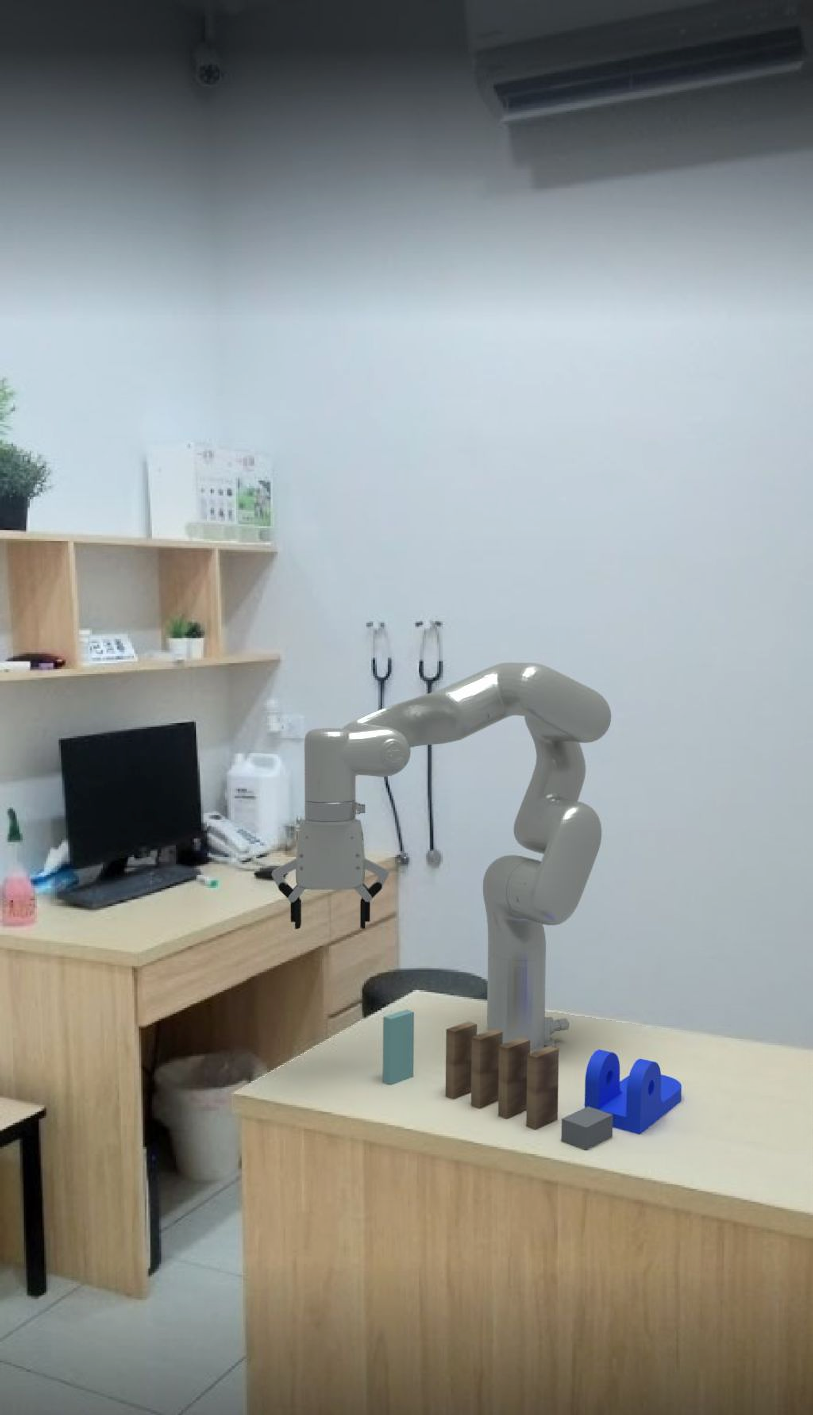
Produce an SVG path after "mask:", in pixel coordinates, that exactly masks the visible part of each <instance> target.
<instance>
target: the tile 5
mask: <svg viewBox="0 0 813 1415" xmlns="http://www.w3.org/2000/svg"><path fill="white" fill-rule="evenodd" d="M559 1054H560V1049H559V1048H558V1047H555V1046H554V1047H552V1046H548V1047H545V1048H543V1049H540V1050H538V1051H535V1052H533V1053H530V1054H527V1111H526V1117H525V1118H526V1121H525V1122H526V1124H525V1125H526V1127H527V1128H529V1129H532V1130H536V1131H537V1130H538V1129H541V1128H543V1127H545V1126H547V1125H549V1124H551V1123H553V1122H556V1121H558V1119H559V1062H560V1061H559V1059H560V1058H559V1057H560V1056H559Z"/></svg>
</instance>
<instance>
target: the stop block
mask: <svg viewBox="0 0 813 1415" xmlns="http://www.w3.org/2000/svg"><path fill="white" fill-rule="evenodd" d="M613 1132H614V1130H613V1115H612V1114H609V1113H606V1112H603V1111H600V1110H597V1109H594V1108H591V1107H589V1106H588V1107H586V1108H585V1107H584V1108H581V1109H579V1110H577V1111H575V1112H573V1113H571V1114H569V1115H566V1116H565V1117H563V1118H561V1137H560V1138H561V1140H560V1141H561V1142H564V1143H566V1144H569V1145H571V1146H574V1147H576V1148H578V1149H579V1148H580V1149H582V1150H585V1151H588V1150H589V1149H591V1148H593V1147H595V1146H597V1145H600V1144H601V1143H603V1142H606V1140H609V1139H611V1138H613Z"/></svg>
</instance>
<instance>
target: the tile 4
mask: <svg viewBox="0 0 813 1415" xmlns="http://www.w3.org/2000/svg"><path fill="white" fill-rule="evenodd" d="M527 1054H530V1040H528V1039H525V1038H522V1037H521V1038H518V1039H516V1040H513V1041H510V1042H507V1043H505V1044H502V1045H499V1084H498V1101H497V1117H499V1118H502V1119H505V1120H508V1119H511V1118H514V1117H515V1116H517V1115H521V1114H522V1113H524V1112H527Z"/></svg>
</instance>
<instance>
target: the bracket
mask: <svg viewBox="0 0 813 1415" xmlns="http://www.w3.org/2000/svg"><path fill="white" fill-rule="evenodd" d="M620 1064H621V1062H620V1060H619V1056H618V1055H617V1054H616V1052H612V1051H607V1050H604V1049H597V1050H595V1051H594V1052H593V1053H592V1054H591V1057H590V1058H589V1060H588V1063H587V1067H586V1071H585V1076H584V1077H585V1078H584V1108H586V1107H588V1106H589V1107H591V1108H594V1109H597V1110H600V1111H603V1112H606V1113H609V1114H612V1115H613V1128H614V1129H617V1130H621V1131H626V1132H628V1133H629V1132H630V1133H633V1134H637V1135H642V1134H643V1133H644V1132H645V1131H647V1129H649V1128H650V1127H651V1126H653V1125H654V1124H655V1123H656V1122H658V1121H659V1120H660V1119H661V1118H662V1117H664V1116H665V1115H666V1114H667V1113H668V1112H670V1111H671V1110H672V1109H673V1108H675V1107H676V1106H677V1105H678V1104H679V1103H680V1102H681V1101H682V1086H683V1085H682V1083H681V1082H680V1080H678V1079H676V1078H674V1077H672V1076H668V1075H665V1074H662V1073H661V1067H660V1065H659V1063H658V1062H656V1061H653V1060H648V1059H644V1058H638V1059H637V1060H635V1061H634V1063H633V1065H632V1067H631V1069H630V1072H629V1073H628V1074H629V1075H627V1076H625V1077H624V1078H623V1079H621V1066H620Z"/></svg>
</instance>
